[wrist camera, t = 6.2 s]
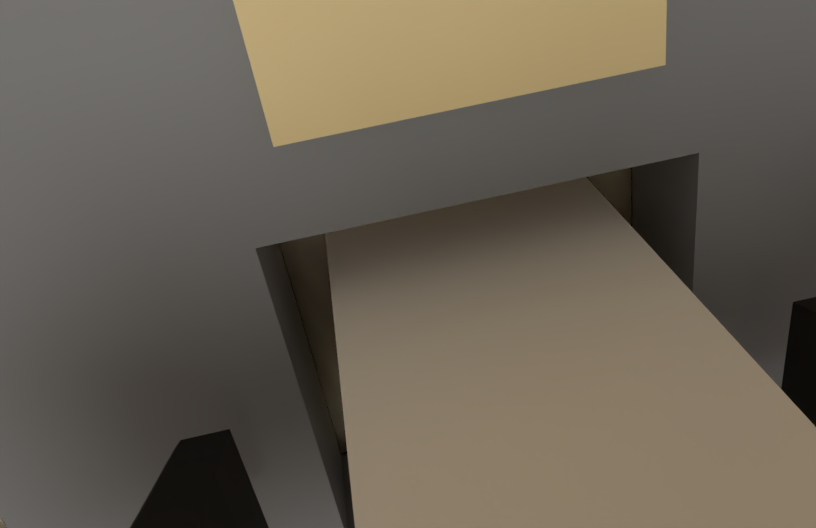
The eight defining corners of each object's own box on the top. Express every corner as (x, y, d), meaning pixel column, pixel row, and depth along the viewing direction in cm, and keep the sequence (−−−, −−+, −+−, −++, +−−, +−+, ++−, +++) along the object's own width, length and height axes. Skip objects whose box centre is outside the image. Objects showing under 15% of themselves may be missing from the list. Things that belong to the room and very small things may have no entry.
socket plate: (827, -397, 8) (996, -474, 6) (737, 482, 15) (801, 572, 13) (-1110, -41, 7) (-1615, -1, 5) (-233, 711, 14) (-312, 842, 12)
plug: (581, 171, 11) (1072, 706, 4) (592, 372, 13) (932, 953, 6) (324, 229, 11) (389, 883, 4) (376, 423, 13) (478, 1075, 6)
